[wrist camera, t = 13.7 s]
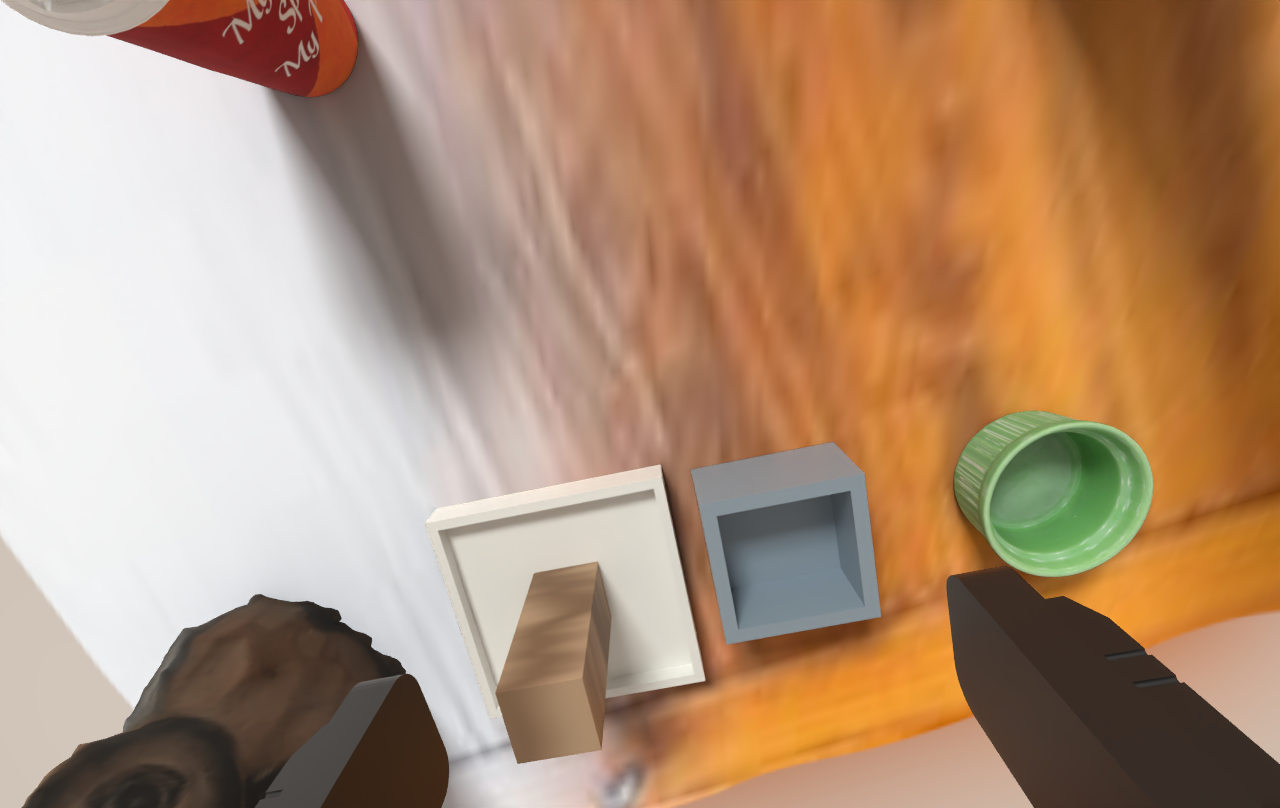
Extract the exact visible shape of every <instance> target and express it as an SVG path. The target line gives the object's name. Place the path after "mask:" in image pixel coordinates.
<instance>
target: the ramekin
mask: <svg viewBox="0 0 1280 808" xmlns="http://www.w3.org/2000/svg"><path fill="white" fill-rule="evenodd" d="M954 490H955V496H956V499H957V502H958V505H959V506H960V508H961V510H962V512H963V514H964V515H965V516H966V518H967V519H968V520H969V521H970V522H971V523H972V525H973V526H974V527H975V528H976V529H977V530H978V531H979V532H980V533H981V534H982V535H983V536H984V537H985V538H986V540H987V541H988V543H989V545H990V546H991V547H992V549H993V550H994V551H995V553H996V554H997V555H998V556H999V557H1000V558H1001V559H1002V560H1003V561H1005V562H1006V563H1007V564H1009V565H1010V566H1012V567H1014V568H1016V569H1018V570H1020V571H1022V572H1025V573H1028V574H1031V575H1036V576H1043V577H1062V576H1070V575H1074V574H1078V573H1082V572H1085V571H1087V570H1090V569H1093V568H1095V567H1097V566H1099V565H1101V564H1103V563H1104V562H1106V561H1108V560H1109V559H1110V558H1112V557H1113V556H1115V555H1116V554H1117V553H1119V552H1120V551H1121V550H1122V549H1123V548H1124V547H1125V546H1126V545H1127V544H1128V543H1129V542H1130V541H1131V540H1132V539H1133V537H1134V536H1135V535H1136V533H1137V532H1138V531H1139V529H1140V527H1141V526H1142V524H1143V522H1144V520H1145V518H1146V516H1147V514H1148V511H1149V508H1150V505H1151V501H1152V494H1153V476H1152V471H1151V467H1150V464H1149V462H1148V459H1147V457H1146V455H1145V453H1144V452H1143V450H1142V449H1141V447H1140V446H1139V445H1138V444H1137V443H1136V442H1135V441H1134V440H1133V439H1132V438H1131V437H1129V436H1128V435H1127V434H1125V433H1124V432H1122V431H1120V430H1118V429H1116V428H1114V427H1111V426H1109V425H1106V424H1102V423H1097V422H1092V421H1082V420H1075V419H1072V418H1068V417H1065V416H1061V415H1058V414H1053V413H1050V412H1045V411H1023V412H1017V413H1013V414H1009V415H1006V416H1004V417H1001V418H999V419H997V420H995V421H993V422H991V423H990V424H988V425H986V426H985V427H984V428H983V429H982V430H980V431H979V432H978V433H977V434H976V435H975V436H974V437H973V438H972V439H971V440H970V441H969V443H968V444H967V445H966V447H965V448H964V450H963V452H962V454H961V456H960V458H959V460H958V463H957V466H956V469H955V474H954Z"/></svg>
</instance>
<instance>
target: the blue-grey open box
mask: <svg viewBox="0 0 1280 808" xmlns="http://www.w3.org/2000/svg"><path fill="white" fill-rule="evenodd" d="M691 474H692V479H693V484H694V489H695V494H696V499H697V504H698V509H699V514H700V519H701V524H702V529H703V534H704V539H705V544H706V549H707V554H708V559H709V564H710V569H711V574H712V579H713V584H714V589H715V594H716V599H717V603H718V608H719V612H720V617H721V622H722V626H723V631H724V635H725V640H726V644H733V643H738V642H744V641H749V640H755V639H760V638H766V637H772V636H777V635H783V634H788V633H794V632H800V631H805V630H811V629H816V628H822V627H828V626H833V625H839V624H844V623H850V622H855V621H861V620H867V619H872V618H878V617H881V611H880V602H879V594H878V585H877V577H876V568H875V559H874V551H873V542H872V534H871V525H870V517H869V508H868V499H867V491H866V482H865V474H864V473H863V471H862V470H861V469H860V468H859V467H858V466H857V465H856V464H855V463H854V462H853V461H852V460H851V459H850V458H849V457H848V456H847V455H846V454H845V453H844V452H843V451H842V450H841V449H840V448H839V447H838V446H837V445H836V444H835V443H834V442H830V443H825V444H820V445H815V446H810V447H804V448H799V449H794V450H789V451H784V452H779V453H774V454H769V455H763V456H758V457H753V458H748V459H743V460H738V461H733V462H728V463H722V464H717V465H712V466H707V467H702V468H697V469H692V470H691Z"/></svg>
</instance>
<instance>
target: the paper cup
mask: <svg viewBox="0 0 1280 808" xmlns="http://www.w3.org/2000/svg"><path fill="white" fill-rule="evenodd" d="M1 1H3V2H4V3H5V4H6V5H8V6H9V7H10V8H12V9H14V10H15V11H17V12H19V13H20V14H22V15H23V16H25V17H27V18H28V19H30V20H33V21H35V22H37V23H39V24H42V25H44V26H46V27H49V28H51V29H55V30H58V31H62V32H66V33H70V34H76V35H86V36H100V35H107V36H110V37H113V38H116V39H119V40H122V41H125V42H128V43H131V44H134V45H138V46H141V47H144V48H147V49H150V50H153V51H156V52H159V53H162V54H165V55H168V56H171V57H173V58H176V59H179V60H182V61H185V62H188V63H191V64H194V65H197V66H200V67H203V68H206V69H209V70H212V71H216V72H219V73H223V74H226V75H229V76H233V77H236V78H239V79H243V80H246V81H249V82H252V83H255V84H259V85H262V86H265V87H268V88H271V89H275V90H278V91H282V92H285V93H289V94H293V95H297V96H303V97H317V96H322V95H326V94H328V93H331V92H333V91H334V90H336V89H337V88H339V87H340V86H341V85H342V84H343V83H344V82H345V81H346V80H347V78H348V77H349V75H350V74H351V72H352V70H353V68H354V65H355V62H356V58H357V53H358V35H357V29H356V25H355V22H354V19H353V16H352V14H351V12H350V10H349V8H348V6H347V5H346V3H345V2H344V0H1Z"/></svg>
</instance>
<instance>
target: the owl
mask: <svg viewBox="0 0 1280 808" xmlns="http://www.w3.org/2000/svg"><path fill="white" fill-rule="evenodd" d="M340 620H341V616H340V614H339V611H338V610H335V609H332V608H324V607H321V606H319V605H317V604H315V603H314V602H309V601H303V602H288V601H283V600H277V599H273V598H269V597H265V596H263V595H261V594H258V595H255V596H253V597H252V598H251V599H250V601H249V603H248V605H244V606H241V607H238V608H235V609H234V610H231V611H229V612H227V613H225V614H222V615H220V616H218V617H216V618H215V619H213V620H211V621H209V622H207V623H205V624H203V625H200V626H198V627H191V628H185V629H183V630H182V632H181V633H180V635H179V636H178V637H177V639H176V640H175V642H174V643H173V644H172V646H171V647H170V649H169V651H168V653H167V654H166V655H165V657H164V659H163V661H162V664H161V665H160V667H159V668H158V670H157V671H156V673H155V675H154V676H153V678H152V679H151V680H150V682H149V683H148V685H147V686H146V687H145V688H144V690H143V693H142V695H141V697H140V700H139V702H138V704H137V705H136V707H135V709H134V711H133V713H132V714H131V715H130V716H129V717H128V718H127V719H126V721H125V723H124V727H123V733H120V734H118V735H114V736H112V737H109V738H106V739H103V740H99V741H94V742H91V743H85V744H80V745H78V747H77V748H76V750H75V751H74V753H73V755H72V756H71V757H70V758H69V759H67V760H65V761H64V762H62V763H61V764H59V765H58V766H57V767H55V768H54V769H53V770H52V771H50V772H49V773H48V774H47V775H46V776H45V777H44V778H43V780H42V781H41V783H40V784H39V786H38V787H37V788H36V789H35V790H34V792H33V793H32V794H31V795H30V796H29V797H28V798H27V800H26V802H25V804H24V806H23V807H22V808H255V806H256V805H257V804H258V802H259V801H260V800H261V799H265V797H266V791H267V790H268V788H269V787H270V785H271V784H272V782H273V781H274V780H275V778H276V777H277V775H278V774H279V773H280V771H281V770H282V768H283V767H284V766H285V764H286V763H287V761H288V760H289V758H290V757H291V756H292V755H293V754H294V753H295V752H296V751H297V750H298V749H299V748H300V747H302V746H303V745H304V744H305V743H306V742H307V741H308V740H309V739H310V738H311V737H312V736H313V735H314V734H315V733H316V732H317V731H318V730H319V729H321V728H322V727H323V726H324V725H326V724H328V723H329V721H330V720H331V718H332V717H333V716H334V714H335V713H336V711H337V710H338V708H339V707H340V705H341V704H342V702H343V701H344V699H345V698H346V696H347V695H348V693H349V692H350V691H351V689H352V688H353V687H354V686H355V685H356V684H358V683H360V682H364V681H370V680H375V679H381V678H386V677H392V676H397V675H403V674H405V673H406V671H405V669H404V668H403V667H402V665H401V663H400V662H399V661H398V660H397V659H395V658H392V657H391V656H387V655H383V654H381V653H379V652H378V651H376V650H374V649H373V648H371V643H372V638H371V637H369V636H368V635H366V634H364V633H360V632H357V631H354V630H352V629H351V628H350V627H348V626H347V625H346V624H345V623H342V622H339V621H340Z"/></svg>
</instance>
